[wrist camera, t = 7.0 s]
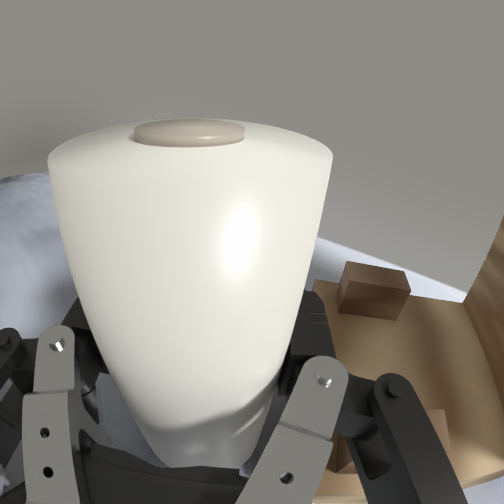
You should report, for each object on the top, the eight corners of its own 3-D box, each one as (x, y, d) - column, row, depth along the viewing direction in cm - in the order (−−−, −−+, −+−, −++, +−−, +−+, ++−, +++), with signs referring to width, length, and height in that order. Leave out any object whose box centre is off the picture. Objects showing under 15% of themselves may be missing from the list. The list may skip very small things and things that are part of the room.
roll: (130, 455, 10) (-10, 163, 3) (168, 371, 15) (140, 110, 8) (247, 489, 10) (355, 196, 3) (266, 394, 14) (326, 126, 7)
